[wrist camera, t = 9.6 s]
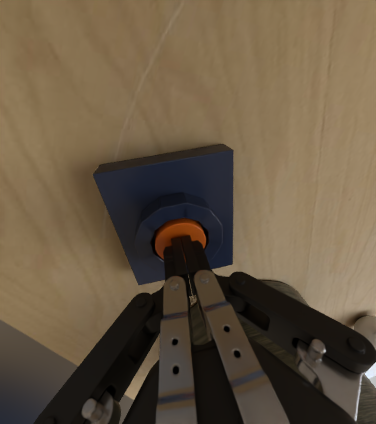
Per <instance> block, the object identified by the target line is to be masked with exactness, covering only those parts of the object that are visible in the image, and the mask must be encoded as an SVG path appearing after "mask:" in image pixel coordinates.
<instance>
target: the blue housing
mask: <svg viewBox="0 0 376 424" xmlns="http://www.w3.org/2000/svg"><path fill="white" fill-rule="evenodd" d="M93 177H94V179H95V181H96V184H97V186H98V189H99V191H100V193H101V196H102V198H103V201H104V203H105V205H106V208H107V210H108V213H109V215H110V218H111V220H112V222H113V225H114V227H115V230H116V232H117V234H118V237H119V239H120V242H121V244H122V246H123V249H124V251H125V254H126V256H127V258H128V261H129V263H130V266H131V268H132V270H133V273H134V275H135V278H136V280H137V282H138V285H143V284H147V283H152V282H156V281H161V280H165V270H164V259H162V258H161V257H160V256H159V255H158V253H157V252H156V249H155V230H156V229H158V228H159V227H160V226H162V225H163V224H164V223H166V222H167V221H170V220H175V219H180V218H188V219H192V220H196V221H199V222H200V224H201V226H202V229H203V231H204V234H205V237H206V244H205V247H204V251H205V254H206V257H207V259H208V262H209V265H210V268H211V269H214V268H219V267H223V266H228V265H232V264H233V150H232V149H231V148H229V147H228V146H226V145H224V144H219V145H214V146H208V147H202V148H196V149H190V150H184V151H178V152H172V153H167V154H161V155H155V156H149V157H143V158H137V159H131V160H125V161H119V162H114V163H108V164H102V165H99V167H98V168H97V169H96V171H95V172H94V173H93ZM185 263H186V262H185ZM186 267H187V266H186ZM187 272H188V271H187Z"/></svg>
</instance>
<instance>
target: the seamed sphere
mask: <svg viewBox="0 0 376 424" xmlns="http://www.w3.org/2000/svg"><path fill="white" fill-rule="evenodd" d="M354 330H355V331H357V332H359V333H360V334H362V335H363V336H365V337H366V338H367V339H368V340H369V341H370V342H371V343H372V345H373V346H374V348H375V350H376V317H375V316H364V317H361V318H359V319H358V320H357V321H356V323H355V325H354Z"/></svg>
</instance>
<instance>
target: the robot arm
mask: <svg viewBox="0 0 376 424" xmlns="http://www.w3.org/2000/svg"><path fill="white" fill-rule="evenodd" d="M181 241H182V244H181ZM171 243H172V246H167V247H165V249H164V251H163V257H164V270H165V283H164V285H163V287H162V288H161V289H160V290H159V291H157V292H155V293H153V294H152V295H151V294H149V293H140V294H138V295H136V296H135V297H134V298H133V299H132V300H131V302H130V303H129V304H128V305H127V307H126V308H125V309H124V310H123V312H122V313H121V314H120V315H119V317H118V318H117V319H116V320H115V322H114V323H113V324H112V325H111V327H110V328H109V329H108V330H107V332H106V333H105V334H104V335H103V337H102V338H101V339H100V340H99V342H98V343H97V344H96V345H95V347H94V348H93V349H92V350H91V352H90V353H89V354H88V355H87V357H86V358H85V359H84V360H83V362H82V363H81V364H80V365H79V367H78V368H77V369H76V370H75V372H74V373H73V374H72V375H71V377H70V378H69V379H68V380H67V382H66V383H65V384H64V385H63V387H62V388H61V389H60V390H59V392H58V393H57V394H56V395H55V397H54V398H53V399H52V400H51V402H50V403H49V404H48V405H47V407H46V408H45V409H44V410H43V412H42V413H41V414H40V415H39V417H38V418H37V419H36V421H35V422H34V424H119V420H120V416H121V409H120V405H119V402H120V400H121V398H122V397H123V395H124V393H125V391H126V390H127V388H128V386H129V385H130V383H131V381H132V380H133V378H134V376H135V375H136V373H137V371H138V369H139V368H140V366H141V364H142V363H143V361H144V359H145V358H146V356H147V354H148V353H149V351H150V349H151V347H152V346H153V344H154V342H155V341H156V339H157V337H158V336H159V334H160V356H159V360H158V361H157V362H156V363H155V364H154V366H153V367H152V368H151V370H150V371H149V373H148V375H147V377H146V378H145V380H144V382H143V384H142V386H141V388H140V390H139V392H138V394H137V396H136V398H135V400H134V402H133V404H132V406H131V408H130V410H129V412H128V413H127V415H126V417H125V419H124V421H123V423H122V424H358V423H357V422H356V420H357V412H358V404H359V397H360V389H361V381H362V376H363V375H364V374H365V373H366V371H367V370H368V369H369V368H370V367H371V366H372V365H373V364H374V363H375V362H376V350H375V348H374V346H373V345H372V343H371V342H370V341H369V340H368V339H367V338H366V337H365V336H363V335H362V334H360V333H359V332H357V331H355V330H353V329H351V328H349V327H347V326H345V325H343V324H341V323H340V322H338V321H336V320H334V319H332V318H330V317H328V316H326V315H324V314H322V313H320V312H319V311H317V310H315V309H313V308H311V307H309V306H307V305H305V304H303V303H301V302H299V301H298V300H296V299H294V298H292V297H290V296H288V295H286V294H284V293H282V292H280V291H278V290H277V289H275V288H273V287H271V286H269V285H267V284H265V283H263V282H261V281H259V280H257V279H256V278H254V277H252V276H250V275H248V274H246V273H244V272H234V273H232V274H231V275H230V277H223V276H218V275H216V274H215V273H213V272H212V270H211V268H210V265H209V262H208V259H207V257H206V254H205V251H204V248H203V245H202V243H201V242H199V241H198V240H196V241H192V240H191V237H190V235H187V236H182V237H181V239H180V237H178V238H173V239H171ZM182 246H183V249H182ZM183 251H184V253H183ZM184 256H185V258H184ZM185 261H186V263H185ZM186 266H187V267H186ZM187 271H188V272H187ZM188 275H189V277H188ZM189 280H190V283H189ZM190 285H191V288H190ZM191 289H192V294H193V295H196V298H197V303H198V308H199V311H200V314H201V317H202V320H203V324H204V327H205V330H206V333H207V337H208V341H209V342H207V343H206V344H204V345H195V343H194V336H193V327H192V318H191V309H190V305H191V304H190V298H189V296H192V294H191ZM237 317H238V318H240V319H241V320H242V321H244V322H245V323H247V324H248V325H250V326H251V327H252V328H254V329H255V330H257V331H258V332H260V333H261V334H262V335H264V336H265V337H267V338H268V339H270V340H271V341H272V342H274V343H275V344H277V345H278V346H280V347H281V348H282V349H284V350H285V351H287V352H288V353H290V354H291V355H293V358H294V363H295V365H296V367H297V369H298V370H299V371H300V372H301V374H303V375H304V376H305V377H306V378H307V379H308V380H309V381H310V383H309V382H308V381H307V380H306V379H304V378H303V377H302V376H300V375H299V374H298V373H297V372H295V371H294V370H293V369H292V368H290V367H289V366H288V365H286V364H285V363H284V362H283V361H281V360H280V359H279V358H278V357H276V356H275V355H274V354H272V353H271V352H270V351H269V350H267V349H266V348H265V347H263V346H262V345H261V344H259V343H258V342H256V341H254V340H252V339H250V338H247V337H246V335H245V332H244V330H243V328H242V326H241V324H240V322H239V320H238V318H237Z"/></svg>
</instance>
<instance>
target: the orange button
mask: <svg viewBox="0 0 376 424" xmlns="http://www.w3.org/2000/svg"><path fill="white" fill-rule="evenodd" d="M187 235H190V237H191V240H192V241H196V240H198V241H199V242H201V243H202V245H203V248H204V247H205V244H206V237H205V234H204V231H203V229H202V226H201V224H200V222H199V221H196V220H192V219H188V218H180V219H175V220H170V221H167V222H166V223H164V224H163V225H162V226H160V227H159V228H158V229H156V230H155V249H156V252H157V253H158V255H159V256H160V257H161V258H162V259H164V257H163V251H164V249H165V247H167V246H172V243H171V239H173V238H178V237H180V239H181V237H182V236H187ZM181 244H182V241H181ZM182 249H183V246H182ZM183 253H184V251H183ZM184 258H185V256H184ZM185 262H186V261H185Z"/></svg>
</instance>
